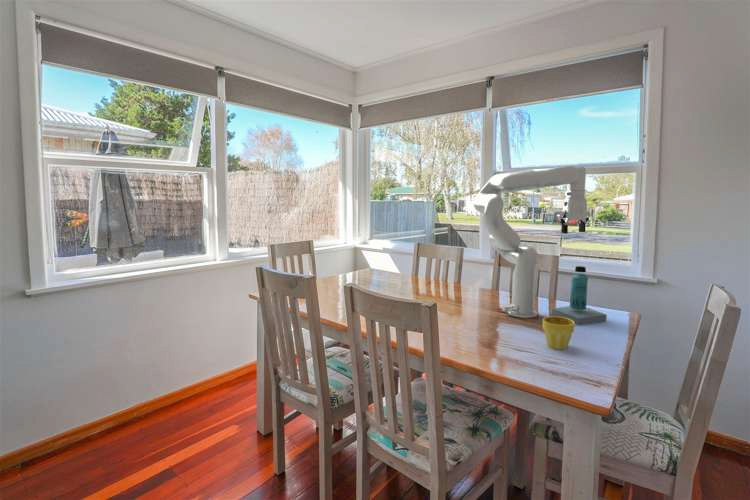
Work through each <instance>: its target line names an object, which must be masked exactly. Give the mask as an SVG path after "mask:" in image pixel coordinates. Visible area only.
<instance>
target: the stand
mask: <svg viewBox="0 0 750 500" xmlns="http://www.w3.org/2000/svg"><path fill="white" fill-rule="evenodd" d="M607 315H608V314H606V313H604V312H601V311H598V310H595V309H593V308H590V307H586V309H585V310H575V309H572V308H570V305H569V306H568V305H567V306H562V307H561V306H560V307H554V308H552V309H551V316H559V317H565V318H568V319H571V320H573V321H574V323H575V326H584V325H589V324H595V323H596V324H597V323H602V322H603V323H604V322H607Z"/></svg>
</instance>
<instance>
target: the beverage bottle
mask: <svg viewBox="0 0 750 500" xmlns="http://www.w3.org/2000/svg"><path fill="white" fill-rule="evenodd" d="M586 268H587V267H585V266H581V265H577V266H575V270H574V272H575V273H574V274H573V275H571V285H570V286H571V287H570V297H569V298H570V299H569V306H570V308H572V309H575V310H585V309H586V308H587V300H588V299H587V297H588V282H589V281H588V280H589V277H588V275H586V274H585V273H586V272H587V270H586Z"/></svg>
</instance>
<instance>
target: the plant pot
mask: <svg viewBox="0 0 750 500" xmlns="http://www.w3.org/2000/svg"><path fill="white" fill-rule="evenodd" d="M575 326H576V325H575V323H574V321H573V320H571V319H568V318H565V317H559V316H554V315H550V316H545V317H543V318H542V329H543V330H544V334H545V338H546V339H545V340H546V345H547V347H549V348H550V349H553V350H557V351H558V350H561V351H563V350H566V349H567V348H568V346H569V343H570V340H571V337H572V334H573V333H574V332H575Z"/></svg>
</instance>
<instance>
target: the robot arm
mask: <svg viewBox="0 0 750 500" xmlns="http://www.w3.org/2000/svg"><path fill="white" fill-rule="evenodd" d="M586 175H587V169H586V167H585V166H575V165H563V166H556V167H550V168H534V169H533V168H531V169H525V170H519V171H511V172H505V173H504V172H503V173H496V174H494V175H493V176H492V177H491V178H489V180H487V182H486V183H485V185H484V186H483V187H482V188H481V189H480V191H479V192H478V193H477V194H476V196H475V197H474V200H473V207H474V209H475V210H476V211H477V212H479V213H483V225H484V226H483V227H484V228H485V230H486V231H487V232H488V234H489V236H488V237H489V244H490V245H491V246H492V248H493V249H494V250H495V251H496V252H498V253H499V255H500V256H501V257H503V259H505V261H508V262H509V263H511V264H514V265H515V266H514V269H513V270H512V271H513V272H512V286H511V287H512V288H511V303H509V305H508V306H502V309H501V310H502V311H503V312H507V313H508V314H509V315H510V316H512V317H514V318H515V317H517V318H523V319H531V318H535V317H537V316H538V312H537V311H536V310H535V290H536V271H537V265H538V263H539V262H538V261H539V254H538V251H537V250H536V249H535V248H534V247H532V246H530V245H527V244H523V243H521V241H522V240H521V237H520V235H519V234H518V232H516V231H515V229H514V228H512V227H511V225H509V224H508V222H507V221H506V220H505V219H504V217H503V212H504V211H503V210H504V199H503V197H502V196H500V195H501V194H503V193H504V194H505V193H506V194H507V193H509V194H510V193H515V192H516V193H517V192H521V191H529V190H535V189H536V190H537V189H543V188H548V187H556V186H564V185H566V189H565V190H566V191H565V193H564V196H565V197H564V200H563V205H562V211H561V212H560V213H559V214H557V219H558V222H559V224H560V225H561V228H560V229H561V234H568V231H569V225H568V223H569V222H570V221H579V223H578V232H579V233H586V225H587V223H588V221H589V220H590V218H591V215H592V214H591V213H590V212H589V211H588V203H587V202H588V201H587V197H585V194H586V178H587V176H586Z"/></svg>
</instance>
